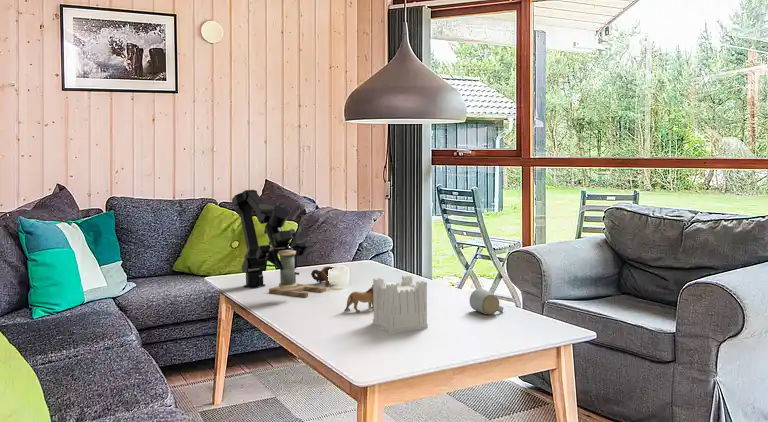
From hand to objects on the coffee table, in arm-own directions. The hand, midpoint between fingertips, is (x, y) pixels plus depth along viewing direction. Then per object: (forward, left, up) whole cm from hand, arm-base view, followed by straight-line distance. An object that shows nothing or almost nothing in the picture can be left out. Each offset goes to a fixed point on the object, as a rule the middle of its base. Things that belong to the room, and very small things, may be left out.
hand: (289, 268), depth 241 cm
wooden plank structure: (-8, +14, -12) cm, 20 cm away
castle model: (+52, -8, -12) cm, 54 cm away
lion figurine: (+31, +2, -12) cm, 33 cm away
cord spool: (-1, +1, -7) cm, 7 cm away
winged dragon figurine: (-7, +32, -12) cm, 35 cm away
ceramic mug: (+69, +20, -12) cm, 73 cm away
